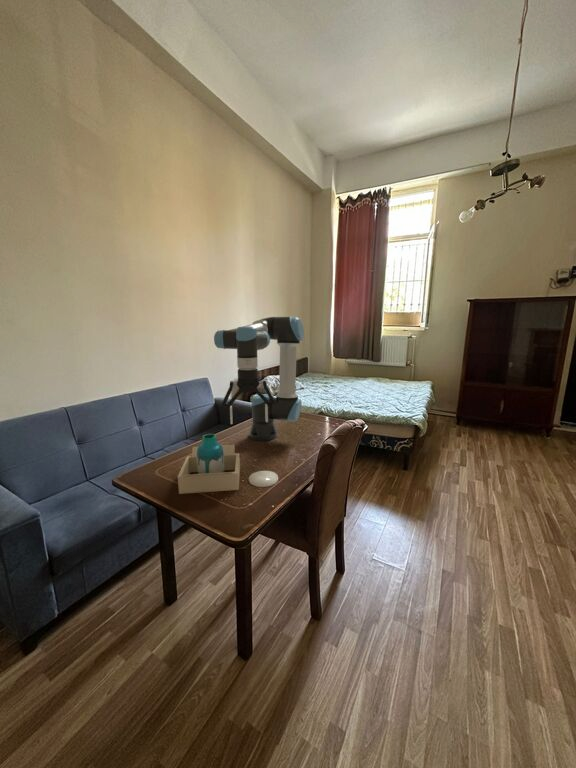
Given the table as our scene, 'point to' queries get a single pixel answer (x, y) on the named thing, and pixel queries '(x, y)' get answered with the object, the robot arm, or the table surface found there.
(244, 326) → the robot arm
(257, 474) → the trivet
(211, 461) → the vase
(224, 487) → the carton
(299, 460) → the table surface
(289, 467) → the table surface
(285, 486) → the table surface
